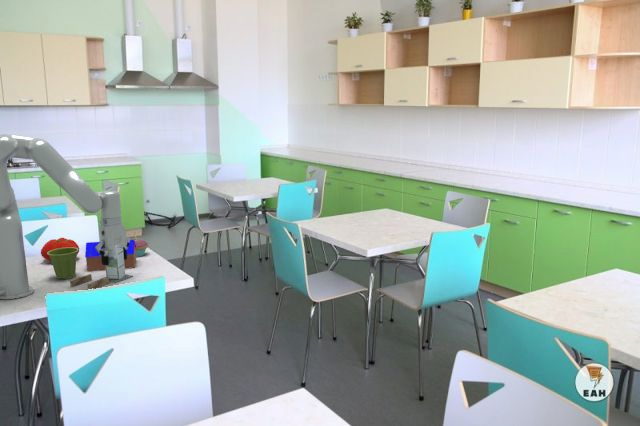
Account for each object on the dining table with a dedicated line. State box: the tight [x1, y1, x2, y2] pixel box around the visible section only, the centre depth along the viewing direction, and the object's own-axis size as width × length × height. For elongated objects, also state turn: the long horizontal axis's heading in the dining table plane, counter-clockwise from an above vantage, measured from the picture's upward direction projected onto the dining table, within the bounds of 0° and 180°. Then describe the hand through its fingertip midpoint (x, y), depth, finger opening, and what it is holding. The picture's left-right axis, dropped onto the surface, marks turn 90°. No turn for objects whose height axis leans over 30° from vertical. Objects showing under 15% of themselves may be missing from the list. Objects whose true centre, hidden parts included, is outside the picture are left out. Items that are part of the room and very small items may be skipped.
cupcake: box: [133, 230, 149, 257], centre depth 260 cm, size 9×8×12 cm
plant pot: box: [47, 247, 80, 280], centre depth 228 cm, size 12×12×11 cm
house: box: [84, 239, 137, 272], centre depth 243 cm, size 12×20×12 cm, turn 104°
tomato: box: [40, 237, 80, 263], centre depth 252 cm, size 14×16×10 cm
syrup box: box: [104, 245, 126, 279], centre depth 225 cm, size 6×6×14 cm
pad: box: [99, 273, 134, 284], centre depth 227 cm, size 9×9×1 cm
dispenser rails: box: [69, 273, 110, 290], centre depth 218 cm, size 10×11×2 cm
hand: (114, 261), depth 225 cm, fingers open, 9 cm apart
